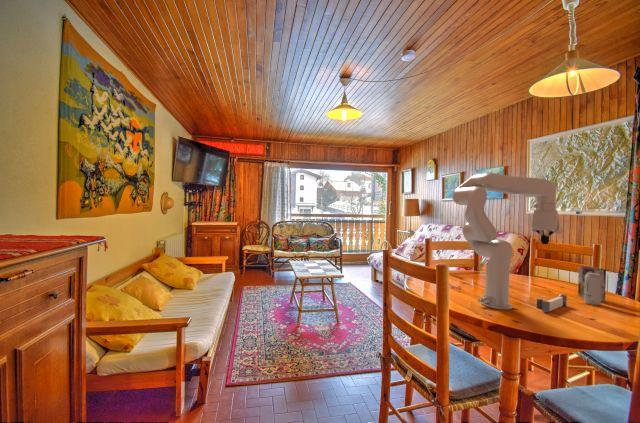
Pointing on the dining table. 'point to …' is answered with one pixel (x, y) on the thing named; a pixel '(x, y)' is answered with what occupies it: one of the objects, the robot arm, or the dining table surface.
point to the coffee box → (581, 280)
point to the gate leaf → (552, 304)
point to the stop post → (539, 303)
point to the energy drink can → (592, 288)
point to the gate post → (563, 299)
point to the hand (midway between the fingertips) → (544, 243)
